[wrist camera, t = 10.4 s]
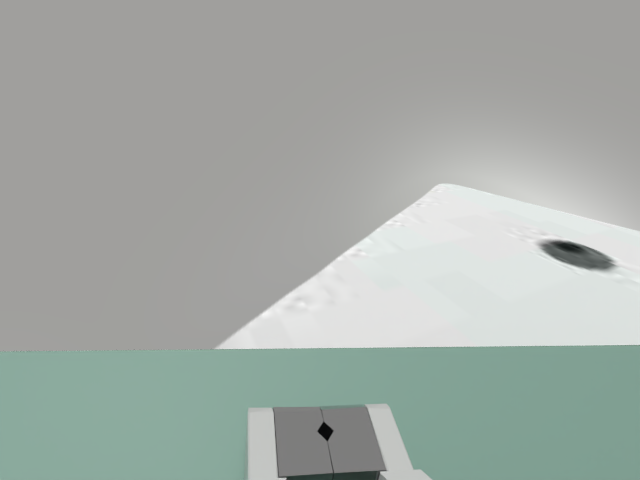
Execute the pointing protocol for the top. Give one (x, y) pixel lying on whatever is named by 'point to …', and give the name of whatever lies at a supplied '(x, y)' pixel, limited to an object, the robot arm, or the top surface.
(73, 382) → the panel
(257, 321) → the top surface
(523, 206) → the top surface
